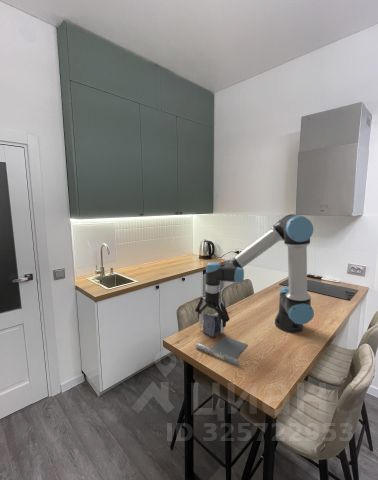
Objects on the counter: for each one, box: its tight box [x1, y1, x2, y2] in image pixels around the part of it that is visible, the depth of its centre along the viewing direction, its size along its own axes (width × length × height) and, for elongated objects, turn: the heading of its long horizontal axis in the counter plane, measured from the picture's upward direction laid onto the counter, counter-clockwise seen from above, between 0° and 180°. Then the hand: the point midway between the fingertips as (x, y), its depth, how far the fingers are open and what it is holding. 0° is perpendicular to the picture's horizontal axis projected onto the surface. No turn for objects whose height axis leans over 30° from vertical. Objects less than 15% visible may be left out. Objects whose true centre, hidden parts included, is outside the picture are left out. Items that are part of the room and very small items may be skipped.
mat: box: [210, 335, 248, 359], centre depth 122 cm, size 13×15×1 cm
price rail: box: [195, 342, 240, 367], centre depth 116 cm, size 22×2×2 cm, turn 54°
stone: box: [202, 312, 222, 338], centre depth 135 cm, size 12×10×10 cm
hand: (211, 328), depth 135 cm, fingers open, 13 cm apart
